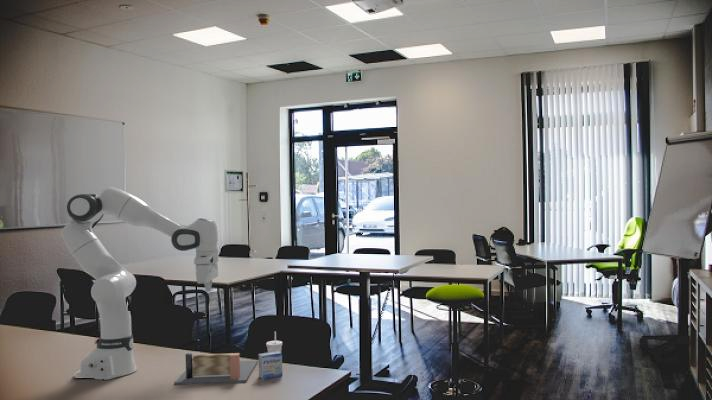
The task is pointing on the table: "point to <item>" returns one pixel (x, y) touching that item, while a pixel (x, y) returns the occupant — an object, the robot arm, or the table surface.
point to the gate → (211, 364)
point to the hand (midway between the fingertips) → (208, 291)
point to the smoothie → (274, 345)
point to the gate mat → (220, 376)
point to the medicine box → (270, 365)
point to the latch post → (234, 366)
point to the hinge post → (189, 366)
